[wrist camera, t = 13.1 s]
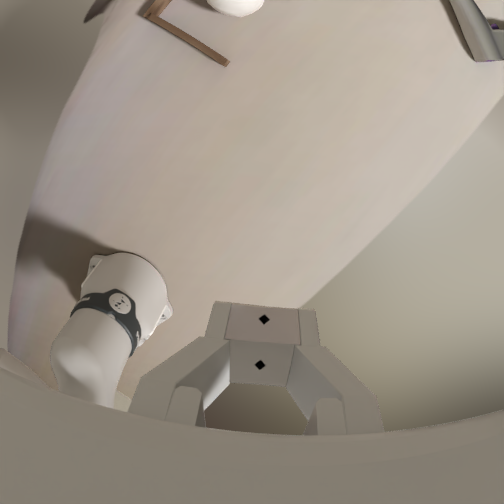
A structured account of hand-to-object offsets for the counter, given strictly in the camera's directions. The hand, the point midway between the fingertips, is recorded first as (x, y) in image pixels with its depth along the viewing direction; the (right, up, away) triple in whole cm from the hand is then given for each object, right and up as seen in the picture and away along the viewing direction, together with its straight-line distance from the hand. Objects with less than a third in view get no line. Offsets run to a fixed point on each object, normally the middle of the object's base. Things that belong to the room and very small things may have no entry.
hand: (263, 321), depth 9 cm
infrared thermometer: (+38, +39, +19) cm, 58 cm away
